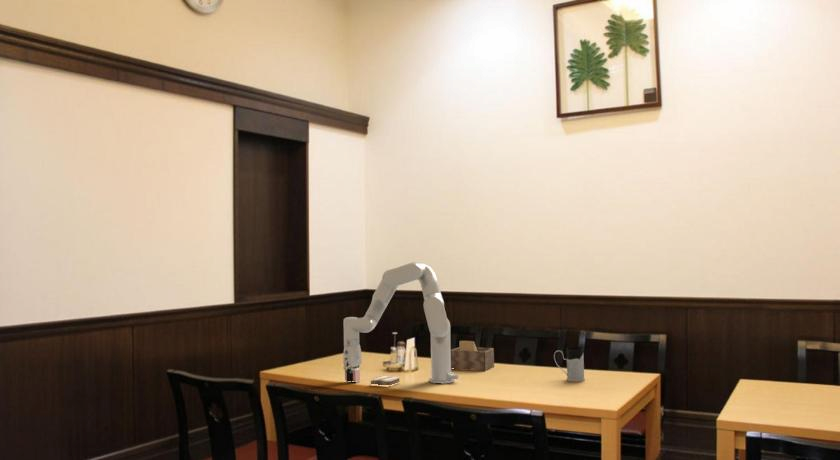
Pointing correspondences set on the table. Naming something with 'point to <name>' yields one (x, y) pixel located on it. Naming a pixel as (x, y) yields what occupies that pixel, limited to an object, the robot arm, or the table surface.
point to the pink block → (354, 374)
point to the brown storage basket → (473, 359)
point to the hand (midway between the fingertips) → (352, 380)
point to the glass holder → (574, 364)
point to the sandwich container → (467, 347)
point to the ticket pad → (385, 380)
